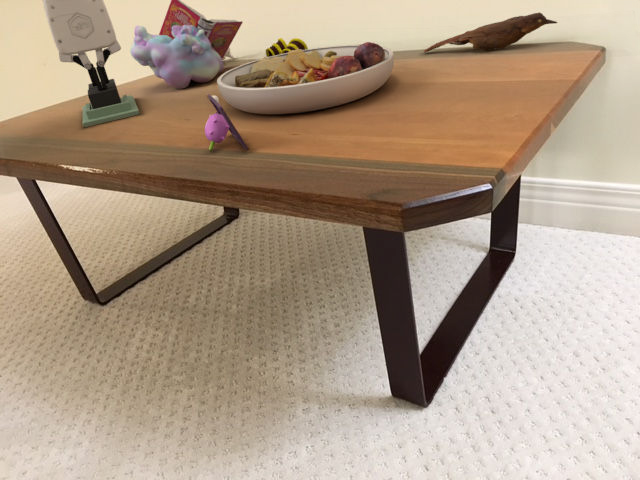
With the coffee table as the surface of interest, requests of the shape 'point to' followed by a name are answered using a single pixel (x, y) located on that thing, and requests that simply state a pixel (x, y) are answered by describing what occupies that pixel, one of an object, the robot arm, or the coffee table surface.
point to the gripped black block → (103, 97)
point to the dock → (109, 110)
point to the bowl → (307, 79)
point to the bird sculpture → (498, 33)
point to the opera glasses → (285, 47)
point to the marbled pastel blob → (185, 46)
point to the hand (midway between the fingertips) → (102, 88)
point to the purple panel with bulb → (220, 125)
